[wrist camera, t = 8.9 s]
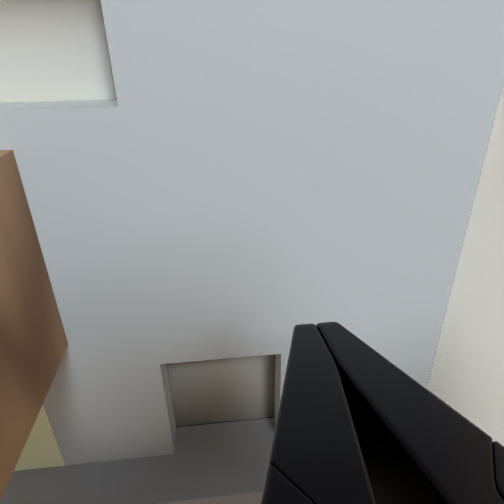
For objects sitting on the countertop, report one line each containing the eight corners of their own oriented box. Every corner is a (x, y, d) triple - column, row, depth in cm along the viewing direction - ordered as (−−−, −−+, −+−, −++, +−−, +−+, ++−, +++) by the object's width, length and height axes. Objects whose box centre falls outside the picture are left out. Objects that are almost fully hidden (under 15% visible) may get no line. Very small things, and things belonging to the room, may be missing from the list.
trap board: (534, -184, 9) (674, -276, 6) (399, 420, 18) (433, 488, 15) (-711, -220, 7) (-1270, -375, 4) (-160, 478, 16) (-232, 567, 13)
